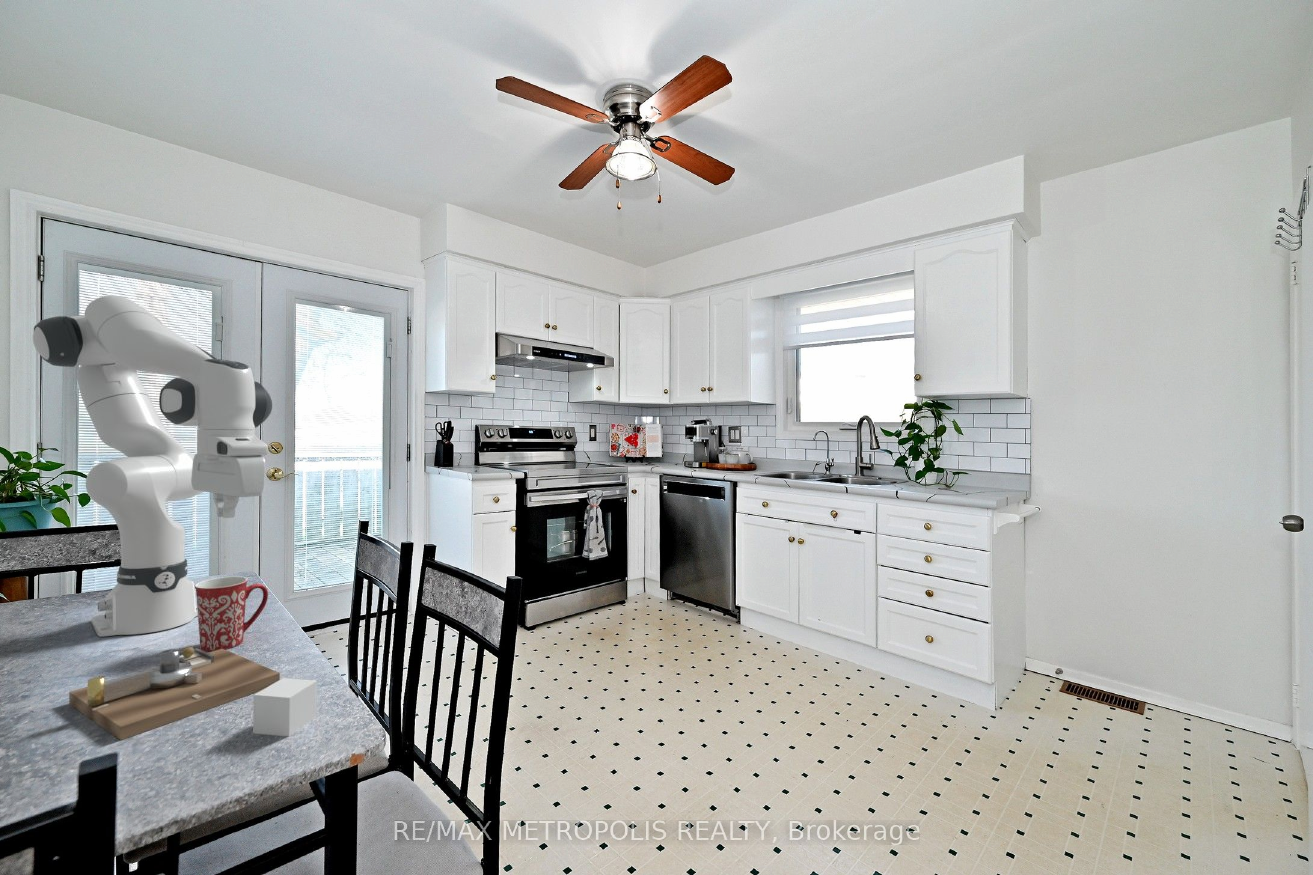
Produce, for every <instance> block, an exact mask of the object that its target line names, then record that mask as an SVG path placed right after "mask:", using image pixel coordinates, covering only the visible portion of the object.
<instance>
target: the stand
mask: <svg viewBox="0 0 1313 875" xmlns="http://www.w3.org/2000/svg"><path fill="white" fill-rule="evenodd" d="M179 663H188V664H191V665H192V673H202V680H200V681H198V682H183V683H181V684H178V685H175V686H171V687H166V688H148V689H145V690H142V691H139V692H135V693H132V694H129V695H126V696H122V697H119V698H116V699H113V700H109V701H106V702H104V703H101V704H99V705H94V706H88V686H85V687H82V688H79V689H74V690H70V691H69V693H68V696H69V697H68V700H69V701H68V705H70V706H71V707H73V709H76V710H77V711H79V712H80V713H81V714H83V715H84V716H86V717H87V718H89V719H90V720H91V721H92V722H94V723H96V725H99V726H100V727H101V728H103V729H104V730H105V731H107V732H108V733H110V734H111V735H112V736H113V737H115V736H116V737H115V738H117V739H118V740H119V739H120V741H123V740H126V739H128V738H131V737H134V736H137V735H140V734H143V733H145V732H149V731H151V730H154V729H157V728H159V727H163V726H165V725H167V724H171V723H173V722H177V721H179V720H182V719H185V718H187V717H191V716H193V715H194V716H195V715H196V714H200V713H201V712H205V711H207V710H210V709H213V708H216V707H219V706H221V705H224V704H227V703H230V702H232V701H233V702H234V701H235V700H238V699H242V698H243V697H247V696H250V695H252V694H253V695H254V694H256V693H258V692H260V691H261V690H263V689H265V688H267V687H269V686H270V685H272V684H274V683H276V682H277V681H279V680H281V675H280V674H281V673H280V672H278V671H276V670H274V669H271V668H269V667H267V666H264V665H262V664H260V663H258V662H255V661H253V660H250V659H247V658H245V657H243V656H241V655H239V654H236V653H233V652H231V651H229V650H228V649H220V650H216V651H203V650H201V648H194V647H190V646H188V647H185V648H184V649H183V650H182V651H181V655H180V658H179ZM158 667H160V665H159V666H156V667H153V668H151V669H152V670H153V669H155V668H158Z"/></svg>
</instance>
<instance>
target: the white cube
mask: <svg viewBox="0 0 1313 875" xmlns="http://www.w3.org/2000/svg"><path fill="white" fill-rule="evenodd" d="M252 714H253V717H252V718H253V724H252V725H253V726H252V732H253V733H252V734H257V735H258V734H259V735H269V736H280V737H291V736H292V735H293V734H295V733H296V732H297V731H298V732H299V730H301V729H302V728H304V727H306V725H307V724H309V723H310V722H312V721H313V720H314V719H315V718H317V717H318V680H314V679H301V678H288V677H287V678H286V677H282V678H280V680H279V681H277V682H276V683H274V684H272V685H270V686H269V687H267V688H265V689H263V690H261V691H258V692H255V693H253V712H252Z"/></svg>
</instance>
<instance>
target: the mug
mask: <svg viewBox="0 0 1313 875" xmlns="http://www.w3.org/2000/svg"><path fill="white" fill-rule="evenodd" d="M248 582H249V578H248V577H247V576H246V577H245V576H241V575H239V576H238V575H237V576H235V575H234V576H232V575H231V576H223V577H215V578H210V579H206V580H203V581H202V580H201V581H199V582H197V583H194V590H195V597H196V608H197V610H198V616H197V624H198V635H199V649H200V650H202V651H205V652H212V651H216V650H220V649H224V650H228V649H231V648H235V647H237V646H238V645H241V644H242V643H243V642H244V637H245V636H244V635H245V634H244V633H245V632H246V631H247V630H248V629H249V628H250V627H251V626H252V625H253V624H254V622H255V621H256V620H257V619H258V617H260V615H261V613H262V612H263V610H264V608H265V607H266V604H267V602H268V598H269V590H268V589H267V587H266V586H265V585H263V584H261V583H254V584H251V585H248V586H247V584H248ZM257 589H261V591H262V599H261V603H260V604H259V606H258V608H257V609H256V611H255V612H254V613H253V615H252V616H251V617H249V619H248V620H247V621H246V622H245V617H246V616H245V614H246V603H247V602H246V600H247V599H248V598H249V596H250V594H251V593H252V591H254V590H257Z"/></svg>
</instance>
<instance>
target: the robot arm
mask: <svg viewBox="0 0 1313 875" xmlns="http://www.w3.org/2000/svg"><path fill="white" fill-rule="evenodd" d="M32 334H33V335H32V343H33V347H34V348H35V350H36V351H37V353H38V354H39V355H40V356H41V358H42V359H43V360H44V362H46V363H48V364H49V365H52V366H56V367H64V368H65V367H69V368H73V367H76V366H79V368H78V369H77V371H76V379H77V380H76V381H77V385H78V389H79V393H80V396H81V399H82V401H83V405H84V406H85V409H86V411H87V414H88V415H89V419H90V420H91V422H92V424H93V426H94V428H95V431H96V433H97V435H98V437H99V439H100V440H101V442H102V443H103V444H105V445H106V446H108V447H109V448H112V449H115V450H117V451H119V452H120V453H122V454H123V455H125V457H119V458H115V459H110V460H107V461H104V462H100V463H98V464H95V465H94V466H93V467H92V468H91V469H90V471H89V472H88V474H87V476H86V480H85V489H86V492H87V495H88V496H89V497H90V499H91V500H92V501H93V502H94V503H96V504H97V505H100V506H101V507H103V508H104V509H105V510H106V511H108V513H109V514H110V515H111V516H112V518H113V520H114V521H115V524H116V526H117V528H118V532H119V536H120V537H119V538H120V563H121V564H120V566H119V567H118V570H117V572H116V576H117V577H116V585H114V586H113V588H112V589H111V590H110V591H109V592H108V594H106V595H105V600H99V601H98V602H97V611H98V612H104V613H101V614H98V615H95V616H93V617H91V622H90V623H91V624H92V627H93V628H94V631H95V633H96V635H97V636H98V637H99V638H100V637H102V638H103V637H110V636H123V635H126V636H127V635H141V634H148V633H155V632H160V631H165V630H170V629H173V628H177V627H179V626H182V625H185V624H188V623H190V622H191V621H192V620H194V619H195V618H196V617H198V610H197V603H196V589H195V583H194V581H192V580H191V579H190V578H188V577H187V575H188V569H189V565H188V560H187V559H186V529H185V527H184V526H183V524H181V522H178V521H177V520H174V519H172V518H171V517H170V515H169V513H168V510H167V507H166V503H168V502H175V501H182V500H186V499H189V498H192V497H195V496H197V495H199V494H202V493H204V492H206V493H213V497H212V498H213V501H214V504H215V507H216V516H217V517H219V518H223V519H224V518H225V519H232V518H235V516H236V508H237V506H238V504H239V501H240V498H247V497H248V498H250V497H251V498H252V497H260V496H262V495H263V492H264V490H265V487H266V486H265V485H266V470H267V468H266V467H267V466H266V459H265V457H264V456H266V455H268V452H269V449H268V448H269V447H268V443H266V442H264V441H263V440H261V439H260V438H259V437H258V436H257V435H256V428H258V427H259V426H260V425H262V424H263V423H264V422H265V421H266V420H267V419H268V418H269V417H270V415H271V413H272V410H273V400H272V397H271V395H270V393H269V392H268V390H267V389H266V388H265V387H264V386H263V385H262V384H261V383H260V382H258V381H256V380H254V374H253V370H252V369H251V367H250V366H249V365H248V364H245V363H243V362H239V361H235V360H227V359H221V358H220V359H219V358H217V357H215V356H214V355H213V354H211V353H210V352H208V351H206V350H204V349H202V347H199V346H198V345H196V344H193V343H192V342H190V341H189V340H188V339H186V338H184V337H182V336H180V335H179V334H177V333H176V332H175V331H173V330H172V329H170V328H169V327H167V326H166V325H164V324H163V323H162V321H161V320H160V319H158V318H157V317H156V316H154V315H153V314H152V313H150V312H149V311H148V310H147V309H145V308H144V307H143V306H141V305H139V304H138V303H137V302H134V301H132V300H131V299H129V298H126V297H123V296H119V295H104V296H100V297H97V298H95V299H94V300H91V302H90V303H89V304H88V305H87V306H86V308H85V310H84V314H82V315H71V316H66V315H63V316H62V315H59V316H53V317H48V318H45V319H41V320H40V321H38V323H36V324H35V325H34V327H33V333H32ZM138 371H139V372H143V373H144V372H145V373H150V374H156V375H157V374H158V375H164V376H165V375H166V376H172V377H175V378H172V379H170V380H169V381H168V382H167V383H165V385H163V387H162V388H161V389H160V391H159V398H158V399H159V402H158V403H159V410H160V412H161V414H162V415H163V417H165V418H166V420H168V421H169V422H170V423H171V424H173V425H178V426H183V427H197V430H196V433H197V434H196V438H197V439H196V440H197V441H196V453H195V454H194V453H192V452H191V451H190V450H188V449H187V448H185V447H184V446H183V445H182V444H181V443H180V442H179V441H178V440H177V439H176V438H175V437H174V436H173V435H172V434H171V432H169V431H168V429H167V428H166V426H165V425H164V423H163V422H162V420H161V418H160V416H159V414H158V411H157V410H156V408H155V406H154V404H153V401H152V400H151V398H150V395H149V394H148V392H147V390H146V387H145V386H144V385H143V383H142V381H141V379H140V377H139V374H138Z"/></svg>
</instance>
